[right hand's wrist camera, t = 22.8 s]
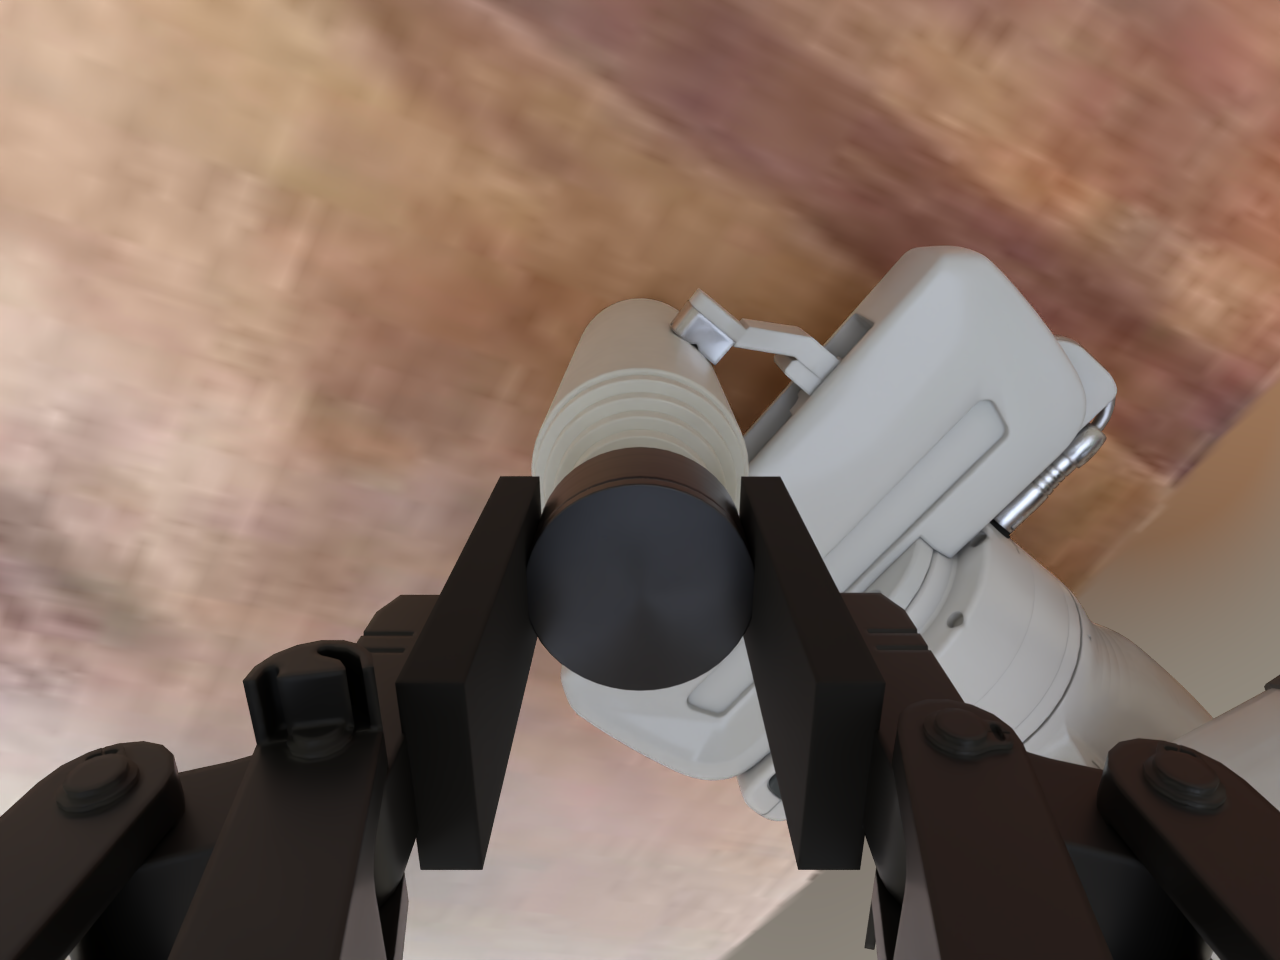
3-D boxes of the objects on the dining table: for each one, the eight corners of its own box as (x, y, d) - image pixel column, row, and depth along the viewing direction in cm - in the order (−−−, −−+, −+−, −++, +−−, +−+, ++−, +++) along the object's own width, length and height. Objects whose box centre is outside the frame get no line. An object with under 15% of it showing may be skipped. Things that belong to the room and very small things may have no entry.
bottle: (670, 274, 29) (713, 377, 12) (724, 391, 31) (832, 631, 14) (553, 334, 30) (435, 512, 13) (612, 445, 32) (578, 735, 15)
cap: (600, 407, 14) (594, 440, 12) (781, 508, 14) (803, 555, 12) (503, 575, 15) (482, 630, 13) (674, 660, 15) (679, 725, 14)
